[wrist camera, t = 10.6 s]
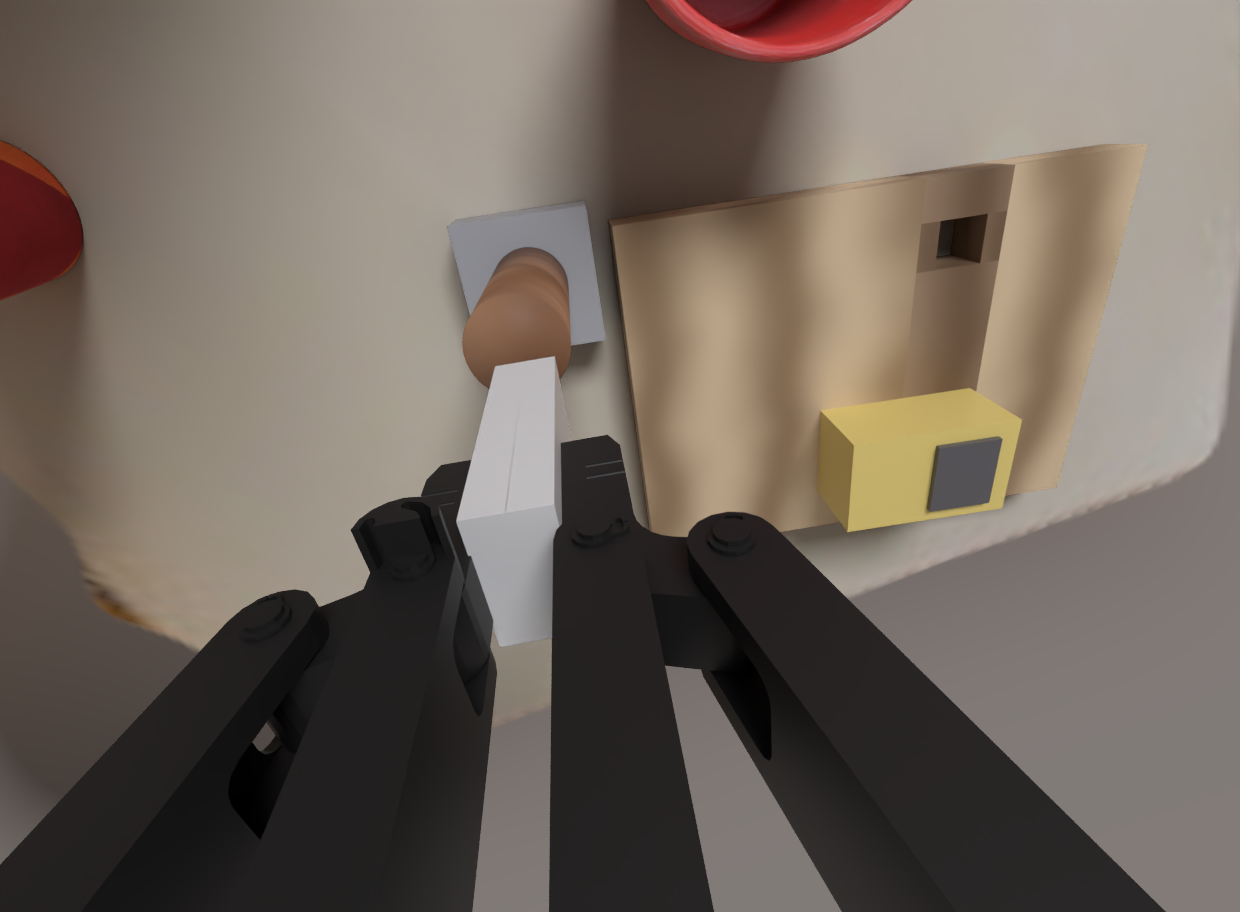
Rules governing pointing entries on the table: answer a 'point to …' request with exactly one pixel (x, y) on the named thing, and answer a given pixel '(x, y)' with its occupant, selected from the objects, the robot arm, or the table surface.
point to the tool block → (542, 228)
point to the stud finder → (915, 458)
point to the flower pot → (775, 25)
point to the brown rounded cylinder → (520, 315)
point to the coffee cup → (34, 224)
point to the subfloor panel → (861, 320)
